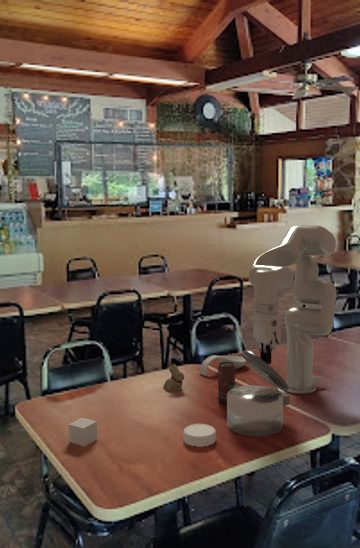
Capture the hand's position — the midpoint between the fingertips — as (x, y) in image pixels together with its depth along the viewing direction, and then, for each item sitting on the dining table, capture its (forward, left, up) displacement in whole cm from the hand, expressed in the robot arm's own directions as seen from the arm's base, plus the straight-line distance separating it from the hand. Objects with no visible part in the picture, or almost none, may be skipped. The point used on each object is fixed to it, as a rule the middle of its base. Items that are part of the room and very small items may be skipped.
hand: (265, 363), depth 182 cm
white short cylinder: (+25, +3, -21) cm, 33 cm away
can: (+3, -22, -20) cm, 30 cm away
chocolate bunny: (+16, -42, -20) cm, 49 cm away
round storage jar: (+3, -4, -20) cm, 21 cm away
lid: (+1, 0, -3) cm, 3 cm away
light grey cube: (+58, -11, -20) cm, 62 cm away
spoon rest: (-12, -55, -21) cm, 60 cm away
